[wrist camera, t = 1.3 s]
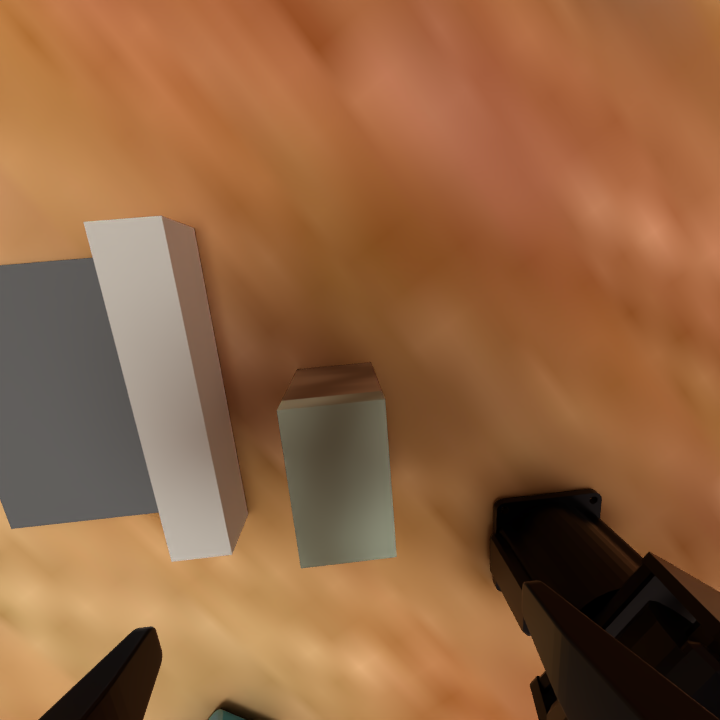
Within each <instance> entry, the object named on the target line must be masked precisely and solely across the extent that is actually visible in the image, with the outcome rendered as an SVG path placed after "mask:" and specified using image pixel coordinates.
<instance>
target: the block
mask: <svg viewBox="0 0 720 720" xmlns="http://www.w3.org/2000/svg"><path fill="white" fill-rule="evenodd" d="M277 416H278V422H279V429H280V435H281V442H282V448H283V455H284V461H285V468H286V474H287V481H288V487H289V494H290V500H291V507H292V513H293V520H294V526H295V533H296V539H297V546H298V553H299V559H300V566H301V568H308V567H317V566H325V565H334V564H342V563H350V562H359V561H367V560H376V559H384V558H392V557H397V555H396V541H395V528H394V514H393V500H392V487H391V473H390V459H389V445H388V432H387V418H386V404H385V398H384V395H383V392H382V390H381V387H380V385H379V382H378V379H377V377H376V374H375V372H374V369H373V366H372V364H371V362H369V363H358V364H348V365H338V366H328V367H317V368H307V369H297V371H296V373H295V375H294V377H293V379H292V381H291V383H290V385H289V387H288V389H287V391H286V393H285V395H284V397H283V399H282V401H281V403H280V405H279V407H278V409H277Z"/></svg>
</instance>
